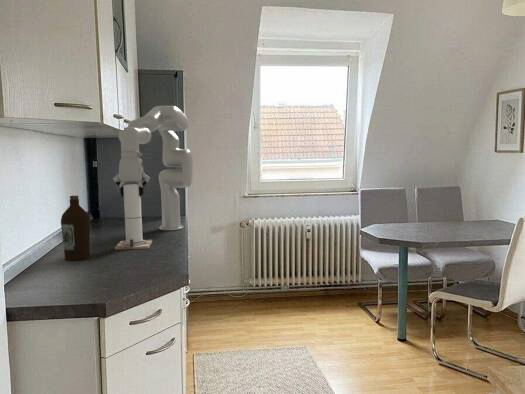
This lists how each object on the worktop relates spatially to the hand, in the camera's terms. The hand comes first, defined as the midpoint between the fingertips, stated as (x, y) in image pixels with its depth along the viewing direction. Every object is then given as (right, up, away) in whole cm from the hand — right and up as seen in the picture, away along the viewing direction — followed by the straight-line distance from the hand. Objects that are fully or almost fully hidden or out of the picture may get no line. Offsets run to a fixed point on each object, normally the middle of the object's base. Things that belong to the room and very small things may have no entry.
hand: (132, 195), depth 204 cm
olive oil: (-16, -25, -19) cm, 36 cm away
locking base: (0, -22, +2) cm, 22 cm away
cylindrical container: (0, -20, +2) cm, 20 cm away
